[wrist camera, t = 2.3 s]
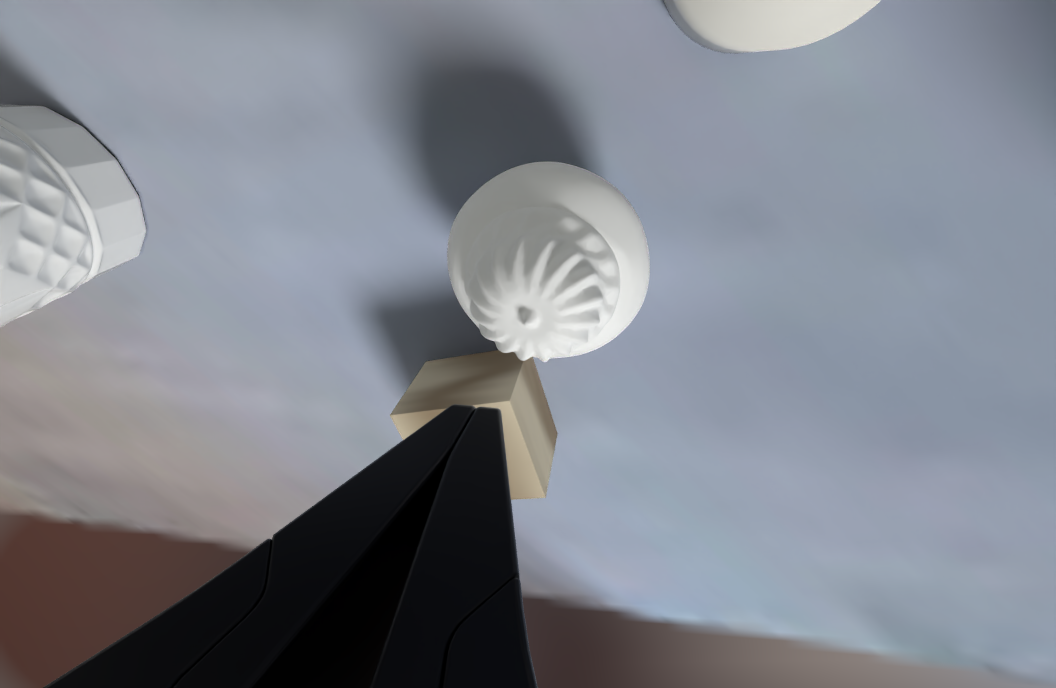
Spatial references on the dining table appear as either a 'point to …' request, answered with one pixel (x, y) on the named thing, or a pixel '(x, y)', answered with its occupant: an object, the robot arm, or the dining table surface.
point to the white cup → (59, 210)
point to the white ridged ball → (548, 260)
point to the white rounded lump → (763, 22)
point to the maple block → (493, 386)
